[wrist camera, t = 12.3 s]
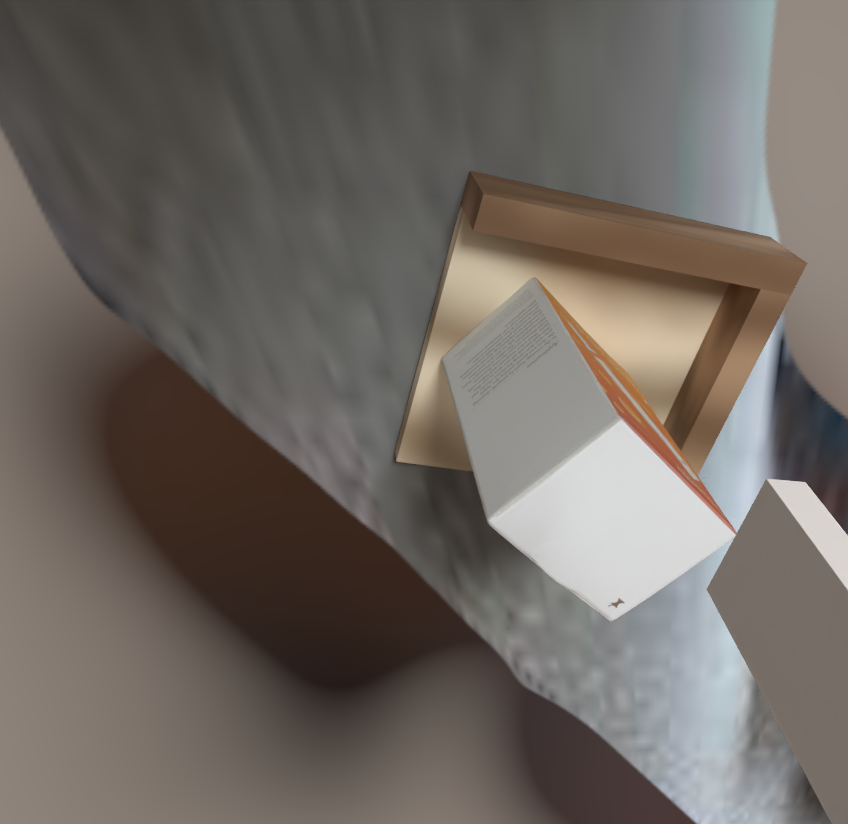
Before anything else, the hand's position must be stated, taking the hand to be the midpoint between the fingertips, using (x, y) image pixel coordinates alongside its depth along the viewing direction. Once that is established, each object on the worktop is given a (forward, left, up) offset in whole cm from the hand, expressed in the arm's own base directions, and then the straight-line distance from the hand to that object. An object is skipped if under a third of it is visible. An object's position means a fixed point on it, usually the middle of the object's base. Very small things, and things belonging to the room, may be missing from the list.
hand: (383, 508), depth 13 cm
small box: (+8, +11, -24) cm, 28 cm away
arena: (+9, +13, -25) cm, 29 cm away
